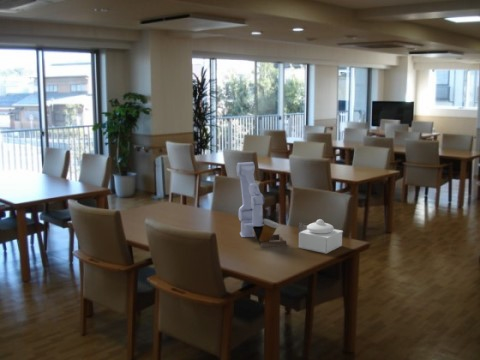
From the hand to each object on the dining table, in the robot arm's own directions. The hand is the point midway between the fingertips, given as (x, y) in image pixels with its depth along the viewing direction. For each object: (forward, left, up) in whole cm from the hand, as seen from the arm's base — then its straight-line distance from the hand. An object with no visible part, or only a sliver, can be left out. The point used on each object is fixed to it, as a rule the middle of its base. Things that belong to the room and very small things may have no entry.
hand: (257, 239), depth 312 cm
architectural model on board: (-8, +32, -3) cm, 33 cm away
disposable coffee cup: (0, +3, -1) cm, 4 cm away
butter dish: (+14, +33, -3) cm, 36 cm away
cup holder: (0, +8, -2) cm, 8 cm away
